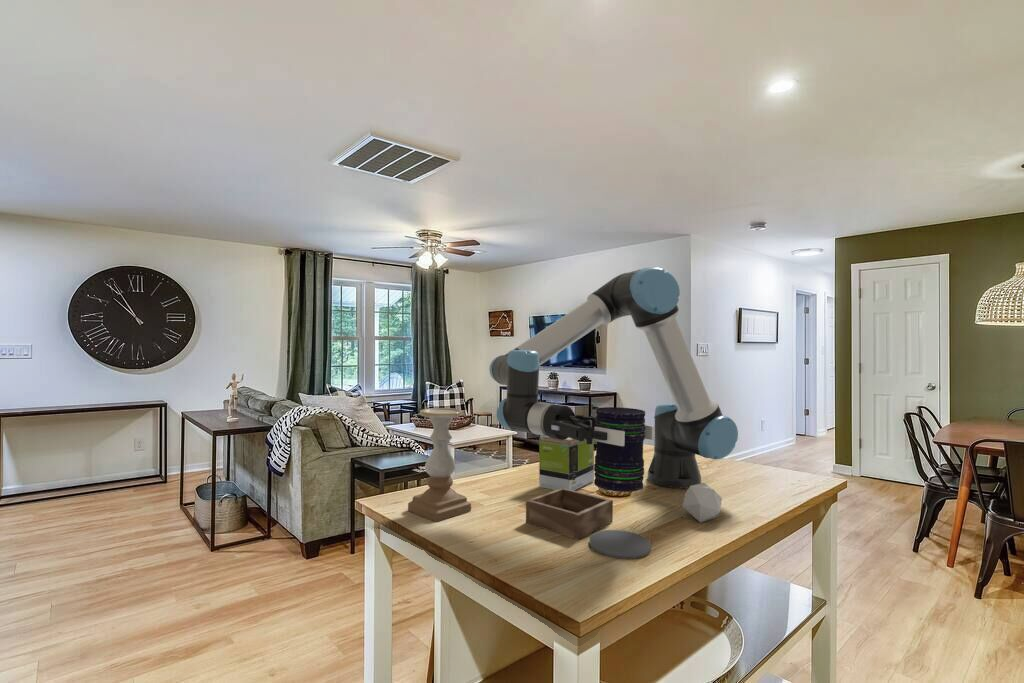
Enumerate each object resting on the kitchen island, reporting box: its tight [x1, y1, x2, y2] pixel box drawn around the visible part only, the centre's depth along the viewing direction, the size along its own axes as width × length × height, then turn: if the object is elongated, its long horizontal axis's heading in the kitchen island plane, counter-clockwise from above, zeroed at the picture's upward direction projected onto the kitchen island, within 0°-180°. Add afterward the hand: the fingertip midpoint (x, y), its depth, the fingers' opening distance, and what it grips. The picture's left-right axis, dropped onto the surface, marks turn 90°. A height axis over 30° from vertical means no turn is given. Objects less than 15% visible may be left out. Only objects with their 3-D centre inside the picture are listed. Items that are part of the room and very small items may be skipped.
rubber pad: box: [589, 529, 652, 560], centre depth 103 cm, size 12×12×1 cm
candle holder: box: [407, 407, 472, 523], centre depth 122 cm, size 11×11×24 cm
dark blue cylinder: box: [593, 406, 646, 493], centre depth 103 cm, size 10×10×15 cm
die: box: [682, 482, 723, 523], centre depth 121 cm, size 8×9×10 cm
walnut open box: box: [525, 488, 614, 540], centre depth 116 cm, size 14×14×5 cm
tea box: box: [538, 436, 595, 491], centre depth 147 cm, size 15×10×15 cm
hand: (638, 435), depth 100 cm, fingers closed on dark blue cylinder, 10 cm apart
